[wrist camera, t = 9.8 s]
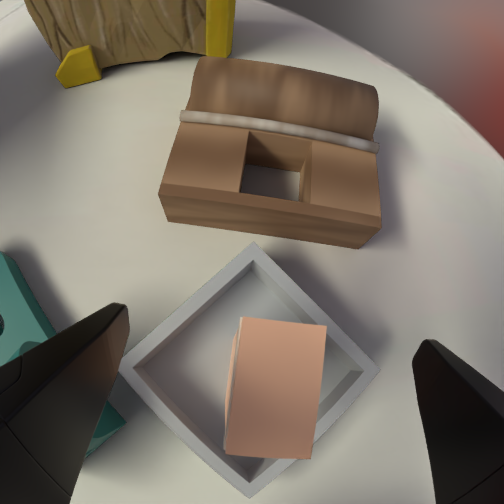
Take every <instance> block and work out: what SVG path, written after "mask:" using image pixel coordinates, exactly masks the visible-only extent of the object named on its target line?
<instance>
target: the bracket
mask: <svg viewBox="0 0 504 504" xmlns="http://www.w3.org/2000/svg"><path fill="white" fill-rule="evenodd" d="M0 314H1V316H2V318H3V320H4V330H3V328H2V326H1V324H0V366H2V365H4V364H6V363H7V362H9V361H11V360H13V359H14V358H16V357H18V356H20V355H23V353H25V352H27V351H28V350H30V349H32V348H33V347H35V346H37V345H39V344H40V343H42V342H44V341H46V340H47V339H49V338H51V337H53V336H54V335H56V334H57V333H56V331H55V330H54V328H53V327H52V325H51V323H50V322H49V320H48V319H47V317H46V315H45V314H44V312H43V311H42V309H41V307H40V306H39V304H38V302H37V300H36V299H35V297H34V295H33V293H32V292H31V290H30V288H29V286H28V284H27V283H26V281H25V279H24V277H23V275H22V273H21V271H20V269H19V267H18V266H17V264H16V262H15V261H14V260H13V259H12V258H10V257H9V256H7V255H6V254H4V253H2V252H1V251H0ZM126 423H127V422H126V421H125V420H124V419H123V418H122V417H121V416H120V415H119V414H118V412H117V411H116V410H115V409H114V408H113V407H112V406H111V404H110V403H109V402H108V401H106V403H105V406H104V408H103V411H102V413H101V416H100V418H99V421H98V424H97V426H96V429H95V431H94V434H93V437H92V439H91V442H90V445H89V447H88V450H87V453H86V456H85V458H86V457H87V456H88V455H90V454H91V453H92V452H93V451H94V450H96V449H97V448H98V447H99V446H100V445H101V444H103V443H104V442H105V441H106V440H107V439H108V438H110V437H111V436H112V435H113V434H114V433H115V432H117V431H118V430H119V429H120V428H121V427H122V426H123V425H125V424H126ZM85 458H84V459H85Z"/></svg>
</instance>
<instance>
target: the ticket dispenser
mask: <svg viewBox="0 0 504 504" xmlns="http://www.w3.org/2000/svg"><path fill="white" fill-rule="evenodd" d="M378 109H379V100H378V94H377V91H376V89H375V87H374V86H371V85H368V84H364V83H361V82H357V81H353V80H350V79H346V78H342V77H338V76H334V75H330V74H325V73H321V72H316V71H312V70H307V69H302V68H296V67H291V66H285V65H279V64H273V63H266V62H259V61H252V60H243V59H234V58H223V57H211V56H202V57H201V58H200V59H199V61H198V63H197V65H196V68H195V72H194V76H193V81H192V87H191V95H190V98H189V101H188V104H187V106H186V109H185V110H181V113H180V121H181V123H180V126H179V129H178V132H177V135H176V138H175V141H174V144H173V147H172V150H171V153H170V156H169V159H168V162H167V166H166V169H165V172H164V175H163V179H162V182H161V185H160V189H159V192H158V196H159V198H160V201H161V204H162V206H163V209H164V212H165V215H166V217H167V220H168V222H175V223H183V224H190V225H197V226H205V227H212V228H219V229H226V230H233V231H240V232H247V233H254V234H261V235H268V236H275V237H282V238H288V239H295V240H302V241H308V242H315V243H321V244H328V245H334V246H341V247H347V248H353V249H359V248H360V247H361V246H362V245H364V244H365V243H366V242H367V241H368V240H369V239H370V238H371V237H372V236H374V235H375V234H376V233H377V232H378V231H379V230H380V229H381V228H382V226H381V209H380V195H379V184H378V173H377V164H376V155H375V153H376V154H377V153H378V151H379V143H376V142H374V139H373V134H374V131H375V127H376V123H377V118H378ZM245 164H251V165H258V166H265V167H271V168H277V169H283V170H289V171H295V172H300V185H299V202H298V201H292V200H285V199H279V198H273V197H266V196H259V195H253V194H246V193H240V192H241V185H242V179H243V173H244V167H245Z"/></svg>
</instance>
